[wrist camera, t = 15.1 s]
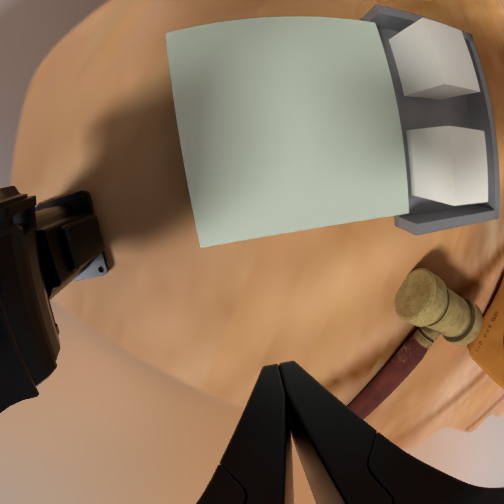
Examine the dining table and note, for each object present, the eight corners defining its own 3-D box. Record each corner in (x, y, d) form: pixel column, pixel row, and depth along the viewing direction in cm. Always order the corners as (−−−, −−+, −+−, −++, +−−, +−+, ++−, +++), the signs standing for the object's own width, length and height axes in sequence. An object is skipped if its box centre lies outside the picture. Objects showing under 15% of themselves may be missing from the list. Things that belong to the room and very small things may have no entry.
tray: (395, 225, 20) (416, 235, 17) (359, 20, 15) (375, 4, 12) (477, 211, 20) (499, 218, 17) (452, 42, 15) (471, 34, 12)
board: (204, 237, 19) (200, 247, 17) (173, 47, 15) (165, 33, 12) (391, 207, 19) (409, 213, 17) (361, 34, 15) (375, 22, 13)
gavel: (364, 451, 25) (297, 446, 23) (355, 424, 29) (291, 414, 27) (490, 317, 19) (444, 281, 17) (465, 296, 23) (414, 258, 21)
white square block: (453, 205, 14) (488, 202, 14) (448, 125, 12) (484, 131, 12) (411, 195, 18) (446, 192, 19) (405, 130, 17) (441, 132, 17)
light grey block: (444, 83, 11) (480, 91, 11) (422, 17, 10) (461, 30, 10) (404, 96, 16) (439, 99, 16) (388, 39, 15) (425, 46, 15)
